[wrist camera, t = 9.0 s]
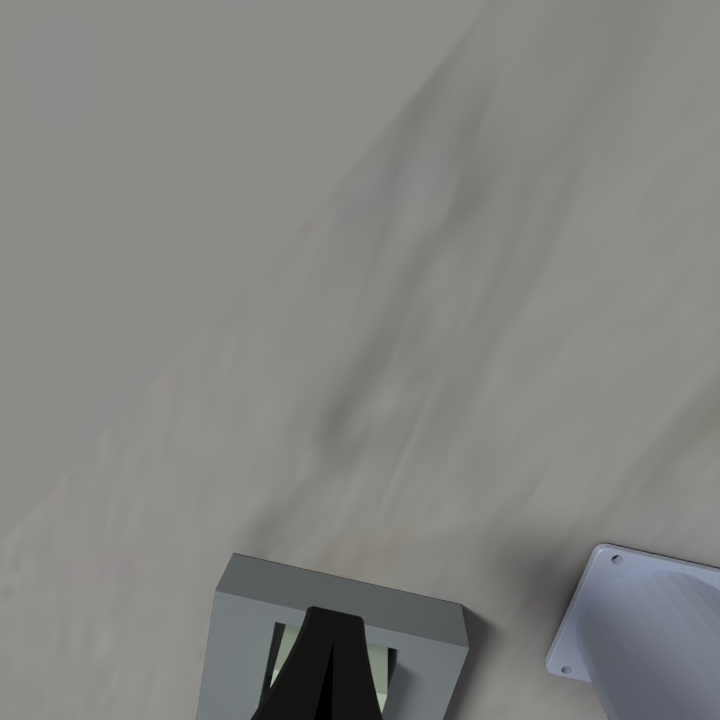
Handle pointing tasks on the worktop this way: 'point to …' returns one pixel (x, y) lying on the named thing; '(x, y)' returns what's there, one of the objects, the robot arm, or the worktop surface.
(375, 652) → the tile one dot
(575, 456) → the worktop surface
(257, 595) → the board
